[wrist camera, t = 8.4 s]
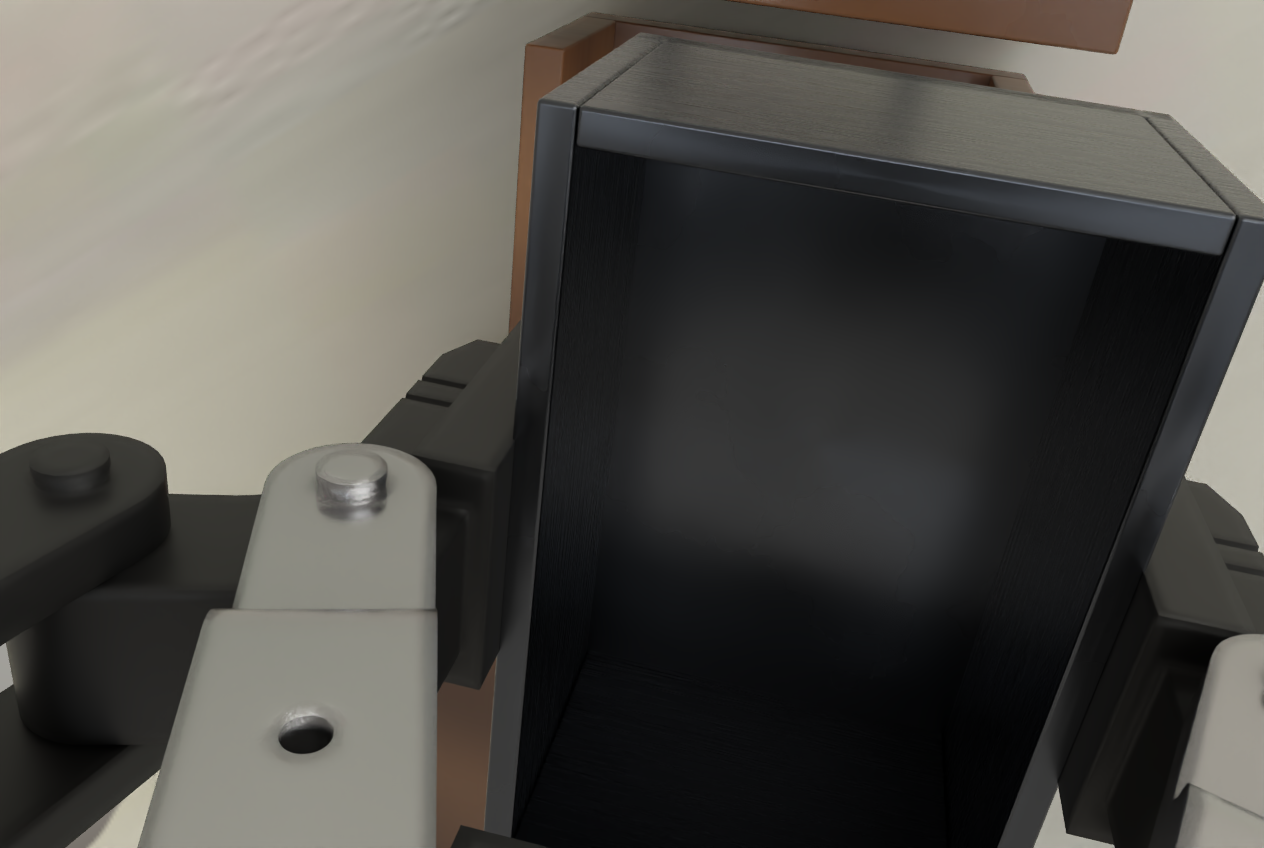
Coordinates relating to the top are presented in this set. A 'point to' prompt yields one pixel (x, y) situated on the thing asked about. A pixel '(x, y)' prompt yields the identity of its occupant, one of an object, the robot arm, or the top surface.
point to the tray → (839, 444)
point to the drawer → (812, 56)
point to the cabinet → (462, 757)
